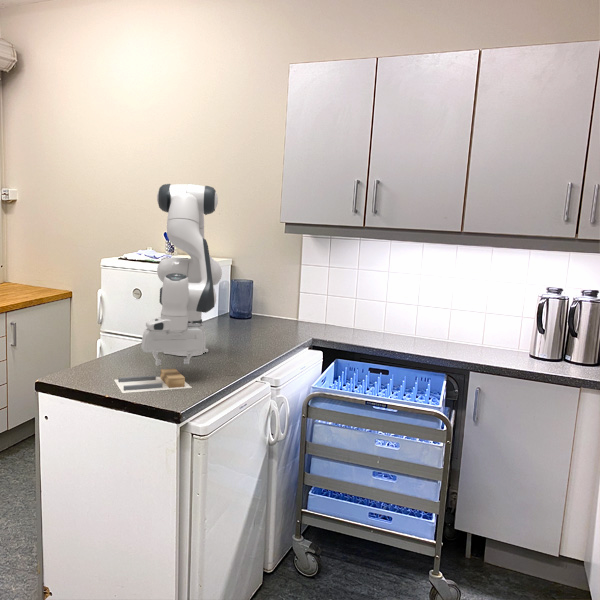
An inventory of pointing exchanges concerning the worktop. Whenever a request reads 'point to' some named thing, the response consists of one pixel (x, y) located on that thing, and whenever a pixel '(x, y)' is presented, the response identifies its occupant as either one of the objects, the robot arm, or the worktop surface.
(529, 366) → the worktop surface
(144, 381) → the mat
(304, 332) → the worktop surface
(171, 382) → the brown wooden block
